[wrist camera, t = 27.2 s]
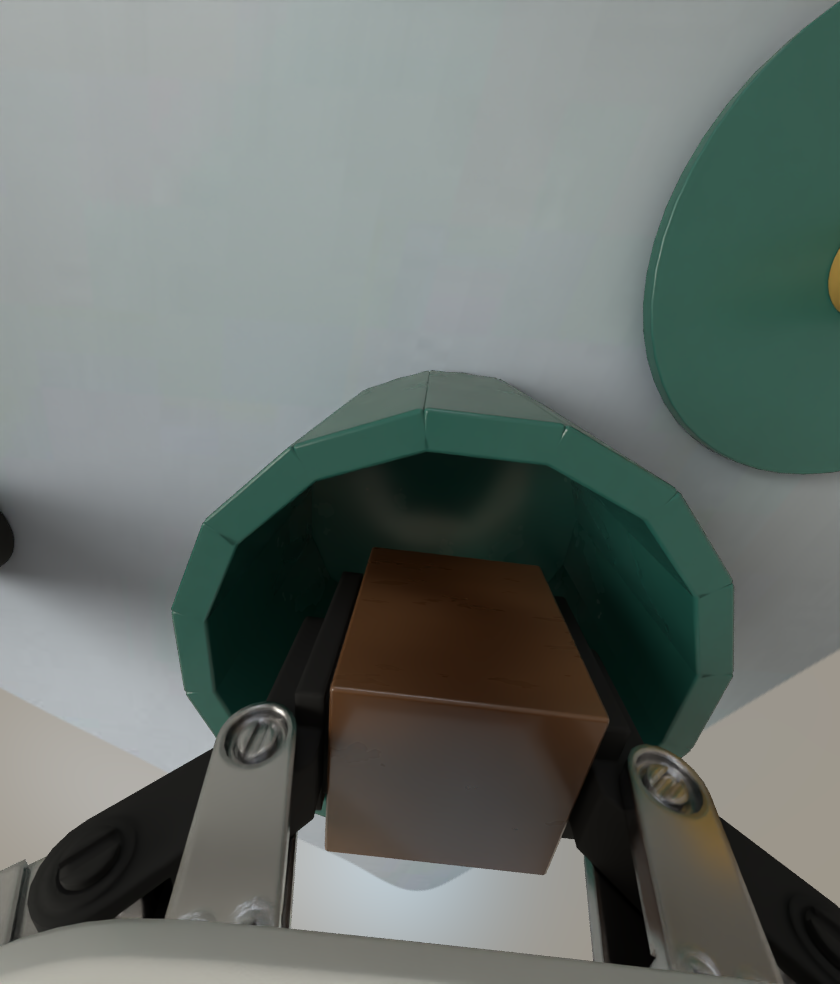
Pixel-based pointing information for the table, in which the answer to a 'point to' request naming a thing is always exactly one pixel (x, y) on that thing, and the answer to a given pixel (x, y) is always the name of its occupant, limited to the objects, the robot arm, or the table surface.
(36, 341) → the table surface
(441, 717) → the block
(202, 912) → the robot arm
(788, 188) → the tin lid
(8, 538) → the drinking cup
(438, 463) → the tin
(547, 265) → the table surface
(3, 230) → the table surface
